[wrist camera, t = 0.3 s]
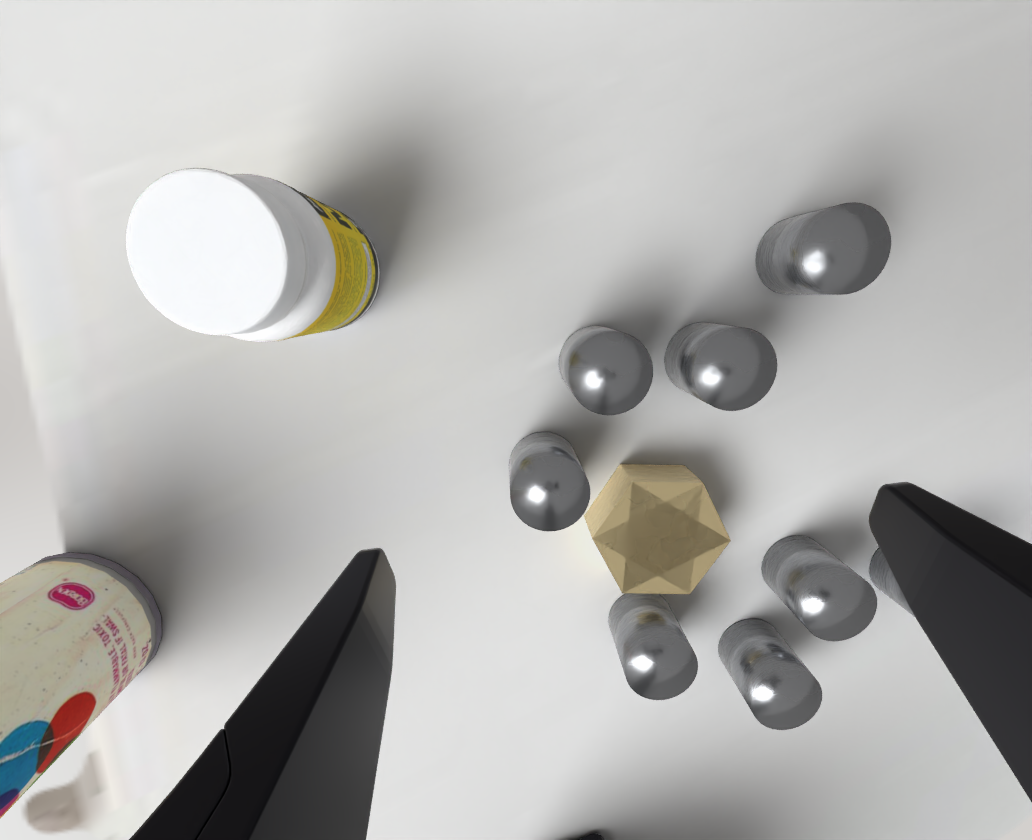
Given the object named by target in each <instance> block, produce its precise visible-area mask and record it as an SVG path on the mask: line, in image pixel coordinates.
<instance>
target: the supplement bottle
mask: <svg viewBox="0 0 1032 840" xmlns="http://www.w3.org/2000/svg"><path fill="white" fill-rule="evenodd" d="M126 247H127V255H128V260H129V264H130V267H131V270H132V273H133V275H134V278H135V280H136V282H137V284H138V286H139V287H140V289H141V291H142V292H143V294H144V295H145V297H146V298H147V299H148V300H149V301H150V303H151V304H152V305H153V306H154V307H155V308H156V309H157V310H158V311H160V312H161V313H162V314H163V315H164V316H166V317H167V318H168V319H170V320H171V321H173V322H175V323H176V324H179V325H181V326H183V327H185V328H187V329H190V330H192V331H195V332H199V333H203V334H210V335H228V336H231V337H234V338H238V339H241V340H246V341H255V342H269V341H279V340H284V339H288V338H293V337H298V336H303V335H308V334H314V333H320V332H325V331H331V330H335V329H339V328H342V327H345V326H348V325H350V324H352V323H353V322H355V321H357V320H358V319H359V318H360V317H361V316H363V315H364V313H365V312H366V311H367V310H368V309H369V307H370V306H371V304H372V303H373V301H374V299H375V296H376V293H377V290H378V286H379V278H380V270H379V262H378V258H377V254H376V251H375V249H374V246H373V244H372V242H371V241H370V239H369V237H368V236H367V234H366V233H365V232H364V231H363V229H362V228H361V227H360V226H359V225H358V224H357V223H355V222H354V221H353V220H352V219H350V218H349V217H347V216H346V215H344V214H343V213H341V212H339V211H337V210H335V209H333V208H331V207H329V206H327V205H325V204H323V203H321V202H319V201H317V200H315V199H313V198H311V197H309V196H307V195H305V194H303V193H301V192H299V191H297V190H295V189H294V188H292V187H290V186H287V185H286V184H283V183H281V182H279V181H276V180H274V179H271V178H267V177H263V176H258V175H252V174H231V175H230V174H227V173H224V172H221V171H217V170H212V169H206V168H190V169H183V170H178V171H174V172H171V173H169V174H166V175H164V176H162V177H161V178H159V179H157V180H156V181H155V182H153V183H152V184H151V185H150V186H149V187H148V188H146V189H145V190H144V191H143V193H142V194H141V195H140V197H139V198H138V199H137V201H136V203H135V205H134V207H133V209H132V211H131V214H130V217H129V220H128V226H127V231H126Z"/></svg>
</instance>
